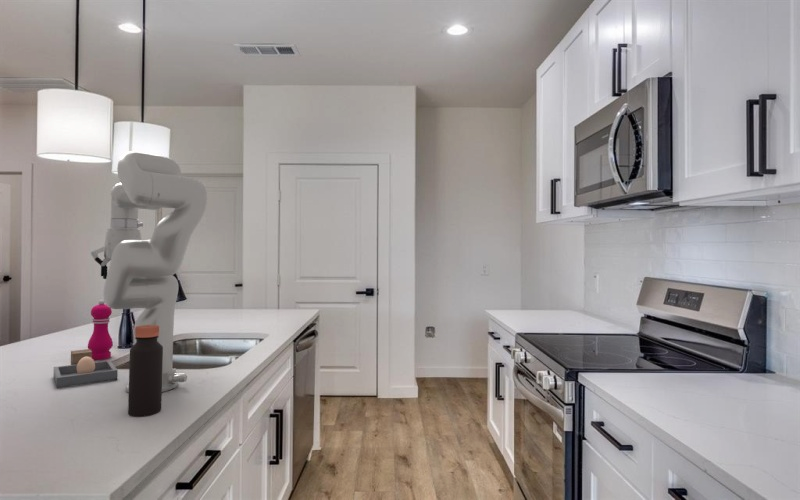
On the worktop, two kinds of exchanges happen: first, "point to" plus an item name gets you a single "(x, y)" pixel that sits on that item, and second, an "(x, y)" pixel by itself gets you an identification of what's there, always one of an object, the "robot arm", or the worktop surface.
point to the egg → (86, 365)
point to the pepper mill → (100, 332)
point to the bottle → (145, 372)
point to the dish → (70, 376)
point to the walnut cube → (79, 355)
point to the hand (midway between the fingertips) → (122, 278)
